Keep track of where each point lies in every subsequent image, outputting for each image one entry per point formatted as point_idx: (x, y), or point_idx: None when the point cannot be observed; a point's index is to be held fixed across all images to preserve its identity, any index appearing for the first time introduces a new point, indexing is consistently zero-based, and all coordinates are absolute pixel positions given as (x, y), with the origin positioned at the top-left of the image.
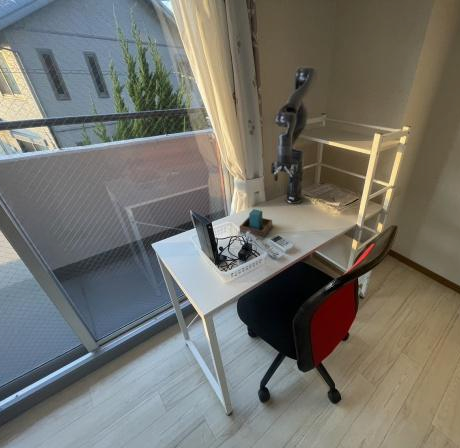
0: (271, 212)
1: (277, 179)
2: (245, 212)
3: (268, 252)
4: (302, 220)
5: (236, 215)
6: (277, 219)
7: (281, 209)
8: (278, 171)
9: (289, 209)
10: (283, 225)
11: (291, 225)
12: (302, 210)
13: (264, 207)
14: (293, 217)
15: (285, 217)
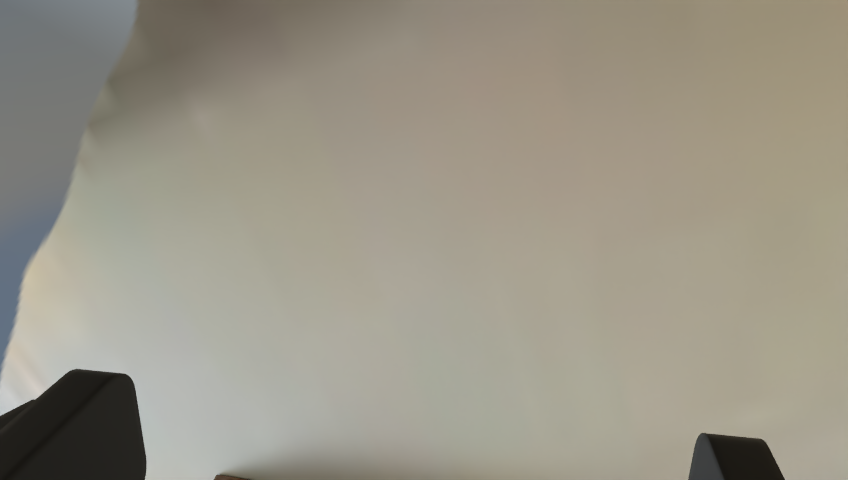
0: (347, 224)
1: (114, 386)
2: (59, 311)
3: None
4: (826, 313)
5: (17, 392)
6: (480, 366)
7: (456, 95)
8: None
9: (582, 52)
10: (585, 467)
11: (682, 449)
12: (818, 11)
13: (200, 116)
14: (683, 270)
15: (570, 298)
